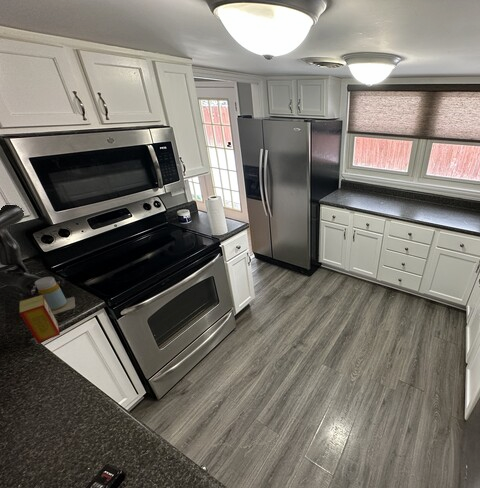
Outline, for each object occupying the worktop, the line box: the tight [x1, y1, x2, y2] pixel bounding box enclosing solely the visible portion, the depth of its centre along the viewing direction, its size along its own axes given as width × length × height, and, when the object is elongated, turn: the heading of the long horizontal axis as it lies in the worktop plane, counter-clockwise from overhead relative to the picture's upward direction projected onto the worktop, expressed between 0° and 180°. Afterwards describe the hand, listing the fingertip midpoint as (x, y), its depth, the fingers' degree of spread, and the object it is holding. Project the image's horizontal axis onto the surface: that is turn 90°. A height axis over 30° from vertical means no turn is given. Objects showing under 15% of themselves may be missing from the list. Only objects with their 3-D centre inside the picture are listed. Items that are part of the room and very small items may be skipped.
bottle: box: [35, 276, 67, 311], centre depth 122 cm, size 7×7×15 cm
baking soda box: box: [19, 294, 61, 344], centre depth 107 cm, size 10×6×16 cm
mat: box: [52, 296, 76, 316], centre depth 125 cm, size 12×11×1 cm
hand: (52, 291), depth 120 cm, fingers open, 8 cm apart
